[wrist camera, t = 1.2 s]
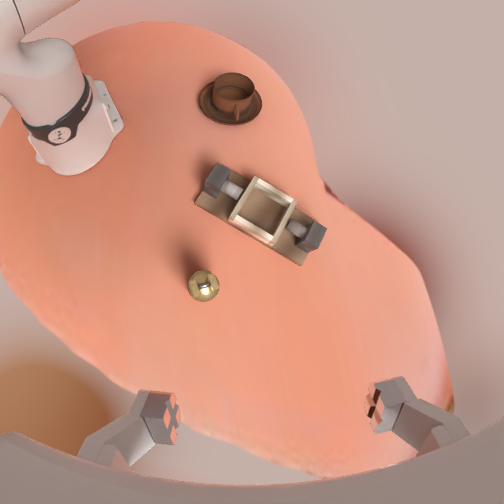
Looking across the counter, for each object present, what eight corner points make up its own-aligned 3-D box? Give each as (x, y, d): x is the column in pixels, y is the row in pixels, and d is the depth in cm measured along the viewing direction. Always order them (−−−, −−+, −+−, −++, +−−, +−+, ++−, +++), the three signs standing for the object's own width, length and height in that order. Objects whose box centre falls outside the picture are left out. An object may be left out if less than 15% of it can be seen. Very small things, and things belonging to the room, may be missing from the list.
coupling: (185, 280, 43) (182, 274, 34) (209, 271, 44) (213, 263, 35) (194, 305, 43) (194, 306, 33) (218, 296, 44) (225, 294, 34)
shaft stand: (195, 204, 46) (195, 191, 40) (219, 167, 48) (223, 151, 42) (299, 266, 48) (313, 261, 42) (318, 226, 49) (333, 218, 44)
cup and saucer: (270, 119, 52) (279, 100, 46) (215, 138, 49) (219, 119, 43) (241, 79, 52) (247, 59, 46) (189, 94, 49) (190, 74, 43)
